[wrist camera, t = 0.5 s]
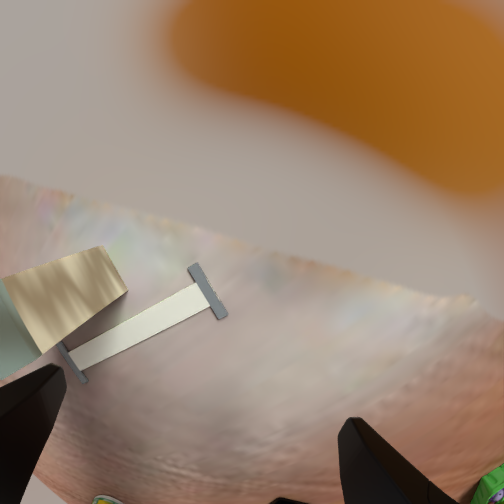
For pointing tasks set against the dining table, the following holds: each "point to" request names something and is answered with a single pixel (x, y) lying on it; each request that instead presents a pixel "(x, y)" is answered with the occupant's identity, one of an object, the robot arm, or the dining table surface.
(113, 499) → the supplement bottle
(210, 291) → the tape line
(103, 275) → the beige tall block
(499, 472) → the fruit basket
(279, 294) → the dining table surface
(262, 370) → the dining table surface
